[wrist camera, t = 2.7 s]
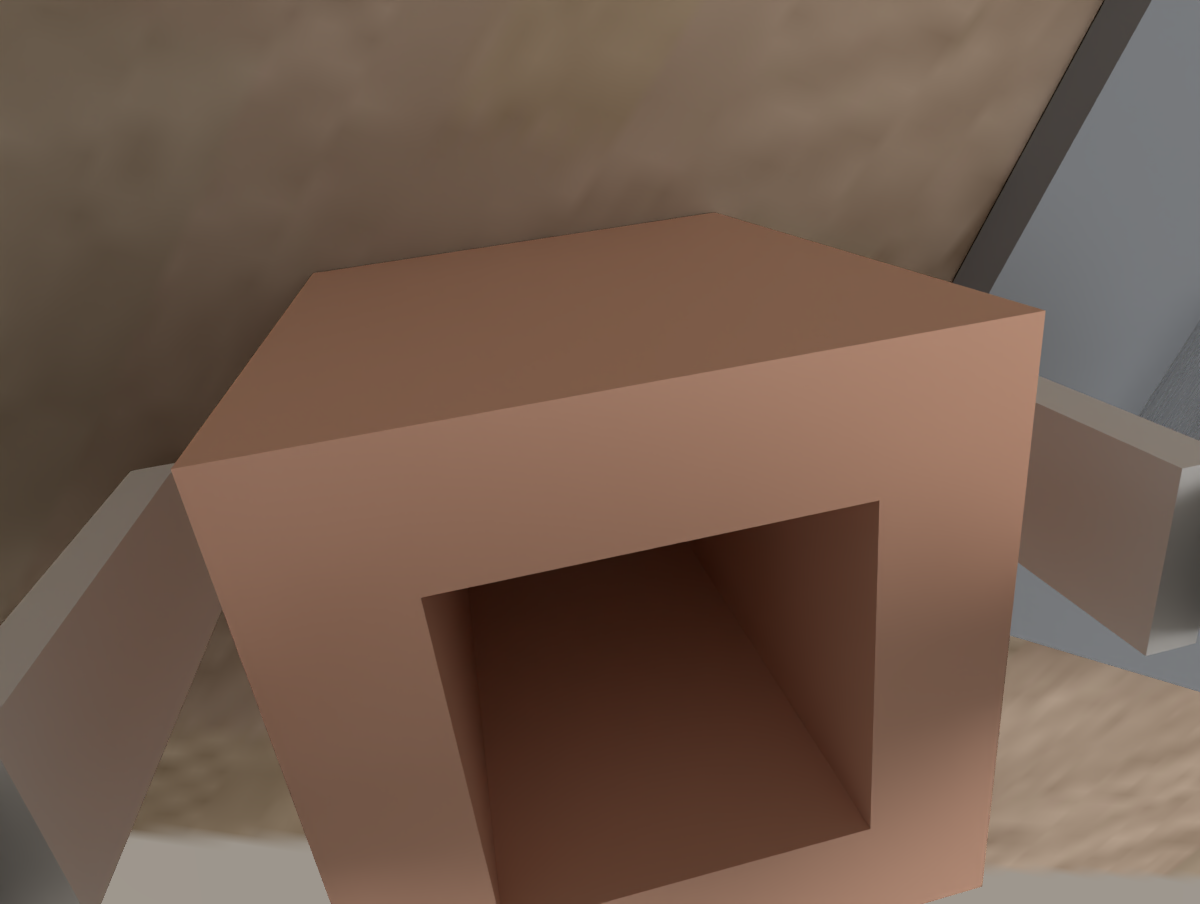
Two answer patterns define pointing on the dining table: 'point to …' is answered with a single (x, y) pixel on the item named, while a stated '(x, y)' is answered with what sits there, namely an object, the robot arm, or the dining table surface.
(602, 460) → the square open box
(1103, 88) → the shaft plate
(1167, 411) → the square shaft
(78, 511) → the dining table surface
